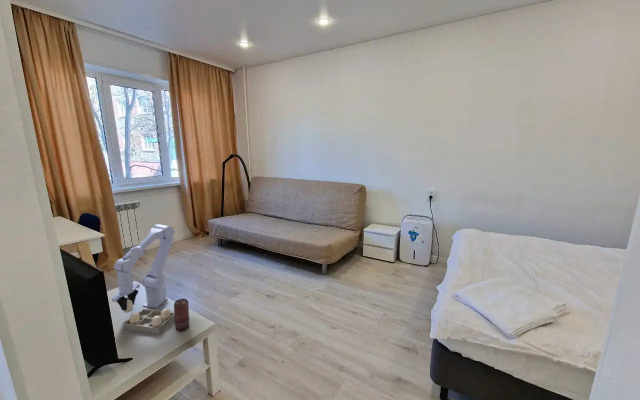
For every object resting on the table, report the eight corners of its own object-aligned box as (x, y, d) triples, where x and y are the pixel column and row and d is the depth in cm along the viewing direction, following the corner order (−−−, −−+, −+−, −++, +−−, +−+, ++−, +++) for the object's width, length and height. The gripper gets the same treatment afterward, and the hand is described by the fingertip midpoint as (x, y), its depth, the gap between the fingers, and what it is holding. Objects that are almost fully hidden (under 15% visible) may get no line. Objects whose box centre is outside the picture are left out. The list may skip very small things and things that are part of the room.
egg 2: (134, 320, 132) (133, 310, 131) (142, 321, 132) (141, 311, 131) (128, 325, 128) (127, 315, 127) (135, 327, 128) (134, 316, 127)
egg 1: (128, 307, 138) (127, 297, 137) (135, 308, 137) (134, 298, 136) (121, 312, 134) (120, 301, 133) (128, 313, 133) (127, 302, 132)
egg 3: (156, 323, 131) (155, 313, 130) (164, 324, 130) (163, 314, 129) (150, 329, 127) (149, 318, 126) (158, 330, 126) (157, 319, 125)
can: (184, 333, 127) (182, 306, 124) (172, 330, 128) (170, 304, 125) (192, 325, 132) (191, 299, 130) (181, 323, 134) (179, 297, 131)
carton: (143, 313, 139) (143, 308, 139) (176, 318, 137) (175, 312, 137) (123, 329, 127) (123, 323, 127) (158, 334, 125) (158, 328, 125)
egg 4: (165, 316, 136) (164, 306, 135) (172, 317, 136) (171, 307, 135) (159, 321, 133) (158, 311, 132) (166, 322, 132) (166, 312, 131)
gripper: (130, 274, 140) (132, 298, 143) (104, 288, 126) (107, 314, 128) (142, 276, 139) (144, 300, 142) (118, 290, 125) (121, 316, 128)
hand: (128, 307), depth 135 cm, fingers closed on egg 1, 4 cm apart
